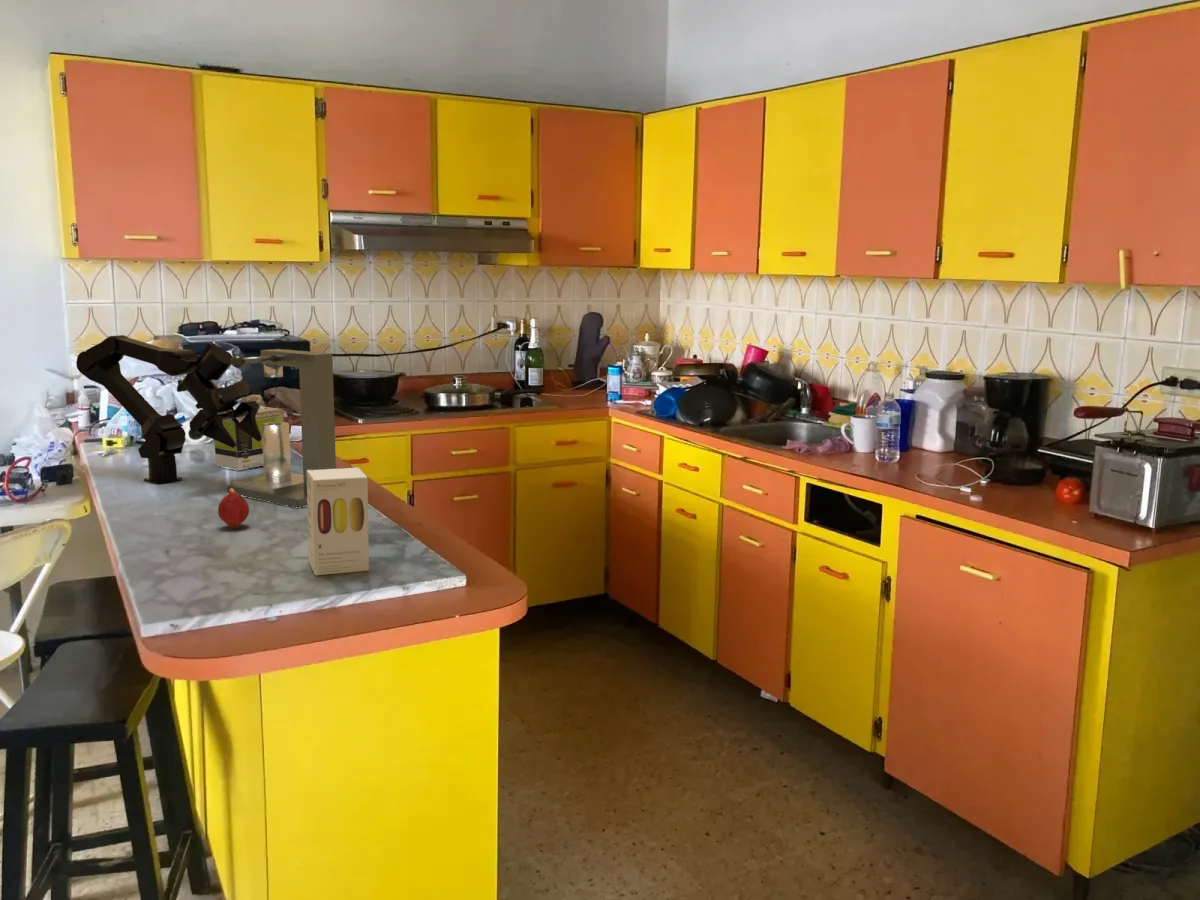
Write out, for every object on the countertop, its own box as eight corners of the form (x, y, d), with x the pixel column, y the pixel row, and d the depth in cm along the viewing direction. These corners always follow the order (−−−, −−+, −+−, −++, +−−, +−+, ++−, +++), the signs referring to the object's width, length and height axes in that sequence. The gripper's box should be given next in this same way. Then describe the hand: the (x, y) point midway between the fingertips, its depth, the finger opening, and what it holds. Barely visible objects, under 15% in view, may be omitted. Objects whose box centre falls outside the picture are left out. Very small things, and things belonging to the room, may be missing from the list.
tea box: (264, 458, 267) (261, 404, 264) (287, 463, 261) (285, 408, 258) (214, 467, 255) (211, 410, 252) (237, 472, 249) (234, 414, 246)
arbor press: (204, 498, 220) (196, 351, 214) (283, 481, 238) (277, 345, 232) (278, 514, 207) (271, 358, 201) (355, 495, 226) (350, 352, 220)
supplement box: (314, 576, 167) (310, 479, 164) (307, 561, 175) (303, 469, 172) (371, 570, 170) (368, 476, 167) (361, 556, 179) (359, 465, 176)
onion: (256, 526, 198) (254, 487, 196) (234, 532, 193) (232, 493, 191) (234, 522, 200) (232, 484, 199) (212, 529, 195) (210, 490, 194)
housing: (261, 482, 224) (258, 425, 221) (267, 476, 230) (264, 421, 227) (289, 482, 224) (286, 425, 222) (293, 476, 230) (291, 421, 228)
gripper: (197, 374, 218) (241, 426, 216) (251, 366, 235) (292, 415, 234) (170, 407, 222) (213, 458, 220) (225, 397, 239) (265, 445, 238)
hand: (248, 443), depth 228 cm, fingers open, 9 cm apart
